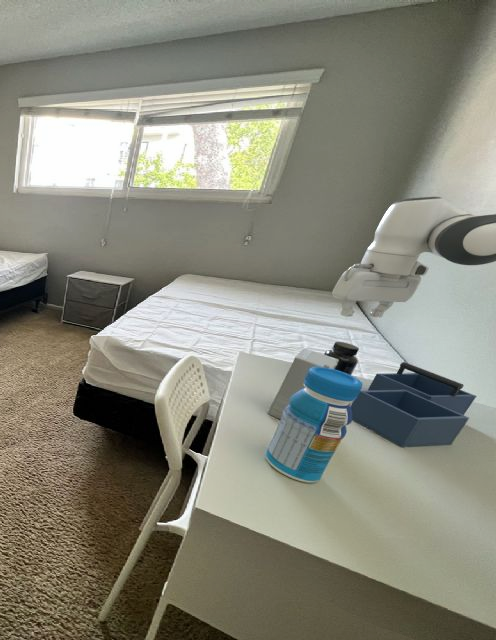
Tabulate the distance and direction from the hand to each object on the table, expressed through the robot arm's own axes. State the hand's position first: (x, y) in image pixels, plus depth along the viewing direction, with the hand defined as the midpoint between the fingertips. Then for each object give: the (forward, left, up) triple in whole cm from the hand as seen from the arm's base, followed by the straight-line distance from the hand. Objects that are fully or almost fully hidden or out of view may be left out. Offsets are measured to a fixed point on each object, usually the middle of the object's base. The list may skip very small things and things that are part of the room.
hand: (360, 316), depth 92 cm
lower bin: (+6, +20, -20) cm, 29 cm away
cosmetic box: (+28, +14, -21) cm, 38 cm away
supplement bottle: (0, 0, -21) cm, 21 cm away
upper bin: (-10, +12, -20) cm, 26 cm away
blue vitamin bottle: (+44, +29, -21) cm, 57 cm away
